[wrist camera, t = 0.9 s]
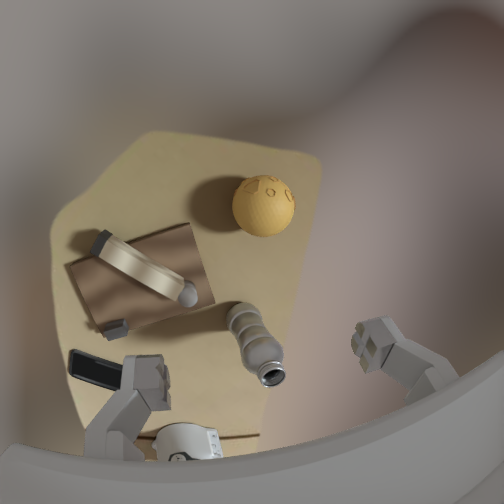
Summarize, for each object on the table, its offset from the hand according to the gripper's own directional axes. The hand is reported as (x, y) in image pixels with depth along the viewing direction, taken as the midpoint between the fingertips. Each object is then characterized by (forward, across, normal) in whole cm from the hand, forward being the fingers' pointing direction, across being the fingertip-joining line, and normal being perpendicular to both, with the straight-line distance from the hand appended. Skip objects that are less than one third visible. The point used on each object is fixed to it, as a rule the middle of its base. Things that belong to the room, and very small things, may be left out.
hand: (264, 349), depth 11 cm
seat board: (+34, -14, -21) cm, 43 cm away
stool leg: (+33, -12, -17) cm, 39 cm away
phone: (+28, -28, -40) cm, 56 cm away
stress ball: (+39, +8, -10) cm, 41 cm away
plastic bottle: (+33, +3, -31) cm, 45 cm away
